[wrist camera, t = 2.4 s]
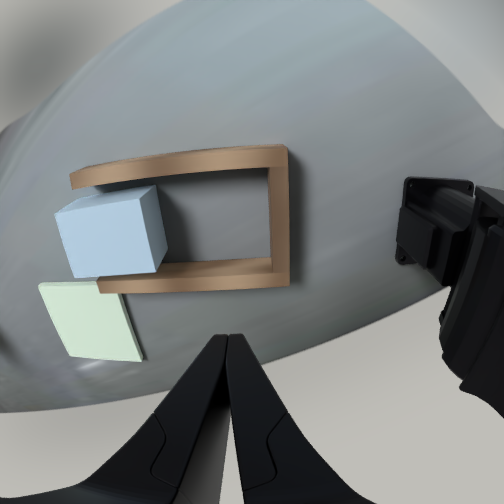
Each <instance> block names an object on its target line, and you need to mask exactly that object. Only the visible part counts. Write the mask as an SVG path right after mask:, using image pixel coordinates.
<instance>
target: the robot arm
mask: <svg viewBox="0 0 504 504" xmlns="http://www.w3.org/2000/svg"><path fill="white" fill-rule="evenodd" d="M411 182H413V185H412V187H410V183H411ZM468 185H469V188H468V189H467V187H468ZM473 192H474V184H473V182H471V181H469V180H462V179H448V178H431V177H407V178H406V179H405V181H404V188H403V200H402V207H401V208H400V213H399V222H398V230H397V238H396V241H397V249H396V255H395V259H396V261H397V262H398V263H399V264H401V265H404V264H415V263H418V264H419V265H420V266H421V267H422V268H423V269H427V270H428V271H429V272H430V273H431V274H432V275H433V276H434V277H435V279H436V280H437V281H438V282H439V283H440V284H441V285H442V286H450V287H451V291H450V294H449V296H448V299H447V302H446V305H445V307H444V310H443V311H441V314H440V316H439V322H440V325H441V327H440V334H439V340H440V343H441V347H442V350H443V354H442V359H443V360H444V362H445V363H446V365H447V366H448V367H449V369H450V370H451V371H452V372H453V373H454V374H455V375H456V376H457V377H459V378H460V379H461V380H463V381H462V383H461V384H460V386H459V389H460V390H461V391H463V392H466V393H469V394H472V395H475V396H477V397H479V398H480V399H482V400H483V401H485V402H487V403H488V404H489V405H491V406H492V407H493V408H494V409H495V410H496V411H497V412H498V413H499V414H500V415H501V416H502V417H503V418H504V191H503V190H498V189H493V188H488V187H483V186H478V185H476V188H475V194H474V195H475V196H476V197H475V198H473ZM402 256H404V257H403V258H402V259H400V258H401V257H402ZM230 417H231V418H232V425H233V433H234V440H235V447H236V454H237V461H238V467H239V474H240V480H241V487H242V492H243V499H244V504H376V503H374V502H372V501H370V500H368V499H366V498H364V497H362V496H361V495H359V494H358V493H357V492H355V491H354V490H353V489H352V488H350V487H349V486H348V485H347V484H346V483H345V482H344V481H343V480H342V479H341V478H340V477H339V475H338V474H337V473H336V472H335V471H334V470H333V469H332V468H331V467H330V466H329V465H328V464H327V462H325V460H324V459H323V458H322V457H321V456H320V455H319V454H318V452H317V451H316V450H315V449H314V448H313V446H312V445H311V444H310V443H309V442H308V440H307V439H306V438H305V437H304V435H303V434H302V432H301V431H300V429H299V428H298V426H297V425H296V423H295V422H294V420H293V419H292V417H291V415H290V414H289V413H288V411H287V409H286V407H285V406H284V404H283V402H282V401H281V399H280V398H279V396H278V394H277V392H276V391H275V389H274V387H273V385H272V384H271V382H270V380H269V379H268V377H267V375H266V374H265V372H264V370H263V368H262V366H261V365H260V363H259V361H258V360H257V358H256V356H255V354H254V353H253V351H252V349H251V347H250V345H249V344H248V342H247V340H246V338H245V337H244V335H243V334H230V335H229V336H228V335H227V334H216V335H214V336H213V337H212V338H211V339H210V340H209V342H208V343H207V344H206V346H205V347H204V348H203V349H202V351H201V352H200V353H199V355H198V356H197V357H196V358H195V360H194V361H193V362H192V364H191V365H190V366H189V367H188V369H187V370H186V371H185V373H184V374H183V375H182V376H181V378H180V379H179V380H178V381H177V383H176V384H175V385H174V387H173V388H172V389H171V390H170V392H169V393H168V394H167V395H166V397H165V398H164V399H163V401H162V402H161V403H160V404H159V405H158V407H157V408H156V409H155V411H154V413H152V414H151V415H150V417H149V418H148V419H147V420H146V422H145V423H144V424H143V425H142V426H141V427H140V429H139V430H138V431H137V432H136V433H135V435H133V436H132V437H131V438H130V439H129V440H128V441H127V442H126V443H125V444H124V445H123V446H122V447H121V448H120V449H119V450H118V451H117V452H116V453H115V454H114V455H113V456H112V457H111V458H110V459H109V460H107V461H106V462H105V463H104V464H103V465H102V466H101V467H100V468H99V469H98V470H97V471H95V472H94V473H93V474H92V475H91V476H90V477H88V478H87V479H85V480H84V481H82V482H80V483H78V484H76V485H73V486H70V487H66V488H62V489H58V490H53V491H49V492H44V493H40V494H34V495H28V496H23V497H16V498H1V497H0V504H219V501H220V493H221V485H222V478H223V470H224V462H225V455H226V447H227V440H228V432H229V423H230Z"/></svg>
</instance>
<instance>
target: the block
mask: <svg viewBox="0 0 504 504" xmlns="http://www.w3.org/2000/svg"><path fill="white" fill-rule="evenodd" d="M55 217H56V221H57V225H58V228H59V232H60V235H61V238H62V242H63V245H64V248H65V251H66V254H67V257H68V260H69V263H70V266H71V269H72V272H73V275H74V277H75V278H84V277H98V276H112V275H125V274H139V273H152V272H156V271H157V269H158V267H159V265H160V263H161V261H162V259H163V257H164V255H165V254H166V252H167V250H168V245H167V241H166V236H165V231H164V226H163V221H162V216H161V211H160V206H159V200H158V195H157V189H156V185H150V186H143V187H137V188H131V189H125V190H119V191H114V192H108V193H103V194H98V195H92V196H87V197H82V198H78V199H77V200H75V201H74V202H72V203H70V204H69V205H67V206H66V207H64V208H63V209H61V210H60V211H58V212H56V213H55Z"/></svg>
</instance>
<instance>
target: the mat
mask: <svg viewBox="0 0 504 504" xmlns="http://www.w3.org/2000/svg"><path fill="white" fill-rule="evenodd" d="M38 287H39V290H40V293H41V295H42V297H43V300H44V302H45V305H46V307H47V309H48V312H49V314H50V316H51V318H52V321H53V323H54V325H55V327H56V329H57V331H58V333H59V335H60V337H61V339H62V341H63V343H64V345H65V347H66V349H67V351H68V353H69V355H70V356H74V357H84V358H94V359H106V360H120V361H138V362H142V359H143V355H142V352H141V350H140V347H139V344H138V342H137V339H136V336H135V334H134V331H133V328H132V325H131V322H130V319H129V316H128V313H127V310H126V307H125V304H124V301H123V298H122V294H121V293H117V294H100V292H99V289H98V286H97V283H96V281H90V282H48V283H41V284H40V285H39V286H38Z"/></svg>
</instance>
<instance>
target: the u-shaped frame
mask: <svg viewBox="0 0 504 504" xmlns="http://www.w3.org/2000/svg"><path fill="white" fill-rule="evenodd" d="M260 167H267V174H268V197H269V222H270V249H271V257H266V258H249V259H232V260H215V261H197V262H179V263H161V264H160V265H159V267H158V269H157V271H156V272H152V273H139V274H125V275H112V276H100V277H99V278H98V279H97V281H96V283H97V286H98V289H99V292H100V294H117V293H158V292H187V291H211V290H231V289H249V288H266V287H282V286H290V245H289V181H288V148H287V147H285V146H284V145H283V144H276V145H254V146H238V147H224V148H213V149H202V150H192V151H183V152H175V153H167V154H159V155H152V156H145V157H139V158H132V159H126V160H120V161H114V162H109V163H103V164H98V165H93V166H88V167H84V168H82V169H80V170H77V171H75V172H73V173H71V174H69V175H70V181H71V186H72V189H78V188H83V187H89V186H95V185H101V184H107V183H113V182H120V181H127V180H134V179H141V178H149V177H157V176H165V175H174V174H183V173H193V172H204V171H215V170H228V169H243V168H260Z"/></svg>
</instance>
